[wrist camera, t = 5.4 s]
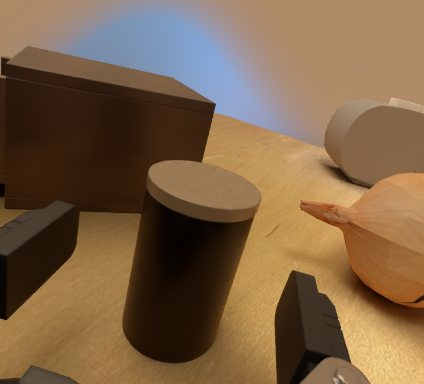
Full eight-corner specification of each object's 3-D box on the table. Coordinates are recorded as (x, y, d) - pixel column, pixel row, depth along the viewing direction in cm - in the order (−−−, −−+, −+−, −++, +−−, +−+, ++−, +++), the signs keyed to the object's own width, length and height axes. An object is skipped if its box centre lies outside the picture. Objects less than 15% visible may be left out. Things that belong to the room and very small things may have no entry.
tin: (109, 354, 15) (138, 191, 12) (131, 283, 19) (156, 152, 16) (218, 371, 15) (271, 219, 12) (214, 297, 20) (253, 174, 17)
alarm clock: (420, 187, 61) (458, 115, 56) (453, 209, 52) (501, 126, 47) (312, 160, 60) (341, 84, 55) (328, 178, 51) (363, 89, 46)
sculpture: (610, 255, 18) (382, 122, 18) (498, 378, 20) (288, 264, 20) (484, 210, 28) (330, 120, 27) (415, 297, 30) (269, 217, 29)
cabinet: (4, 208, 23) (5, 62, 19) (24, 147, 33) (27, 45, 30) (189, 215, 29) (216, 103, 25) (156, 161, 39) (172, 77, 35)
